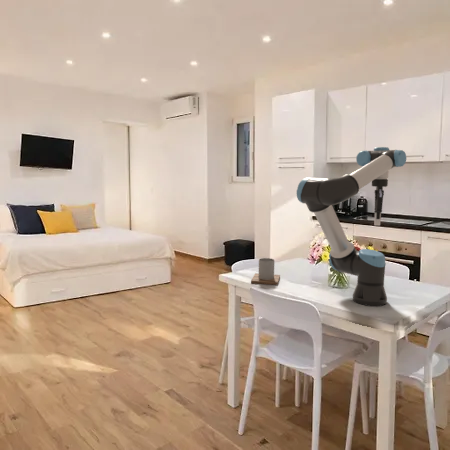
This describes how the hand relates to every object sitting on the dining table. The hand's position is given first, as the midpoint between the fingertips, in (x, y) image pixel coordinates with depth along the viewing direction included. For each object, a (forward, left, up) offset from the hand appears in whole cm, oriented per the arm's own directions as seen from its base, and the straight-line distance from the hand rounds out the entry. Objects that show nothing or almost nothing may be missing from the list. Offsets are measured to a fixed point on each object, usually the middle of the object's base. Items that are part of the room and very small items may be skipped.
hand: (377, 225), depth 217 cm
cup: (0, +56, -31) cm, 64 cm away
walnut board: (0, +56, -32) cm, 65 cm away
